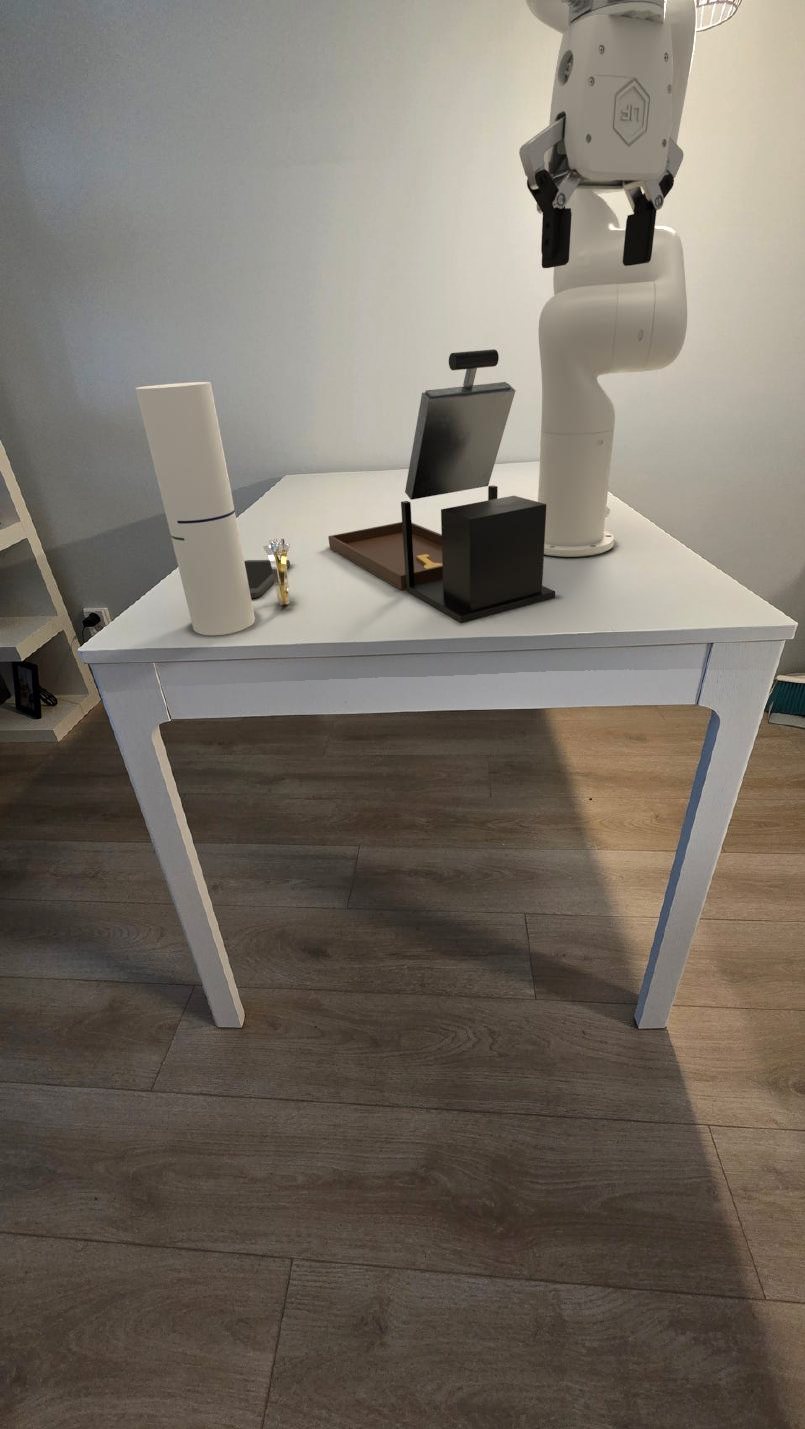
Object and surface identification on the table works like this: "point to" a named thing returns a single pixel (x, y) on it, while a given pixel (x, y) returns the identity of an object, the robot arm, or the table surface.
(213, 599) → the cylindrical container
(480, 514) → the stand
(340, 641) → the table surface
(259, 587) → the cell phone
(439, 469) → the dark tilted plate
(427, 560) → the yellow i-shaped piece
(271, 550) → the ring
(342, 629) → the table surface
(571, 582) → the table surface
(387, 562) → the tray
